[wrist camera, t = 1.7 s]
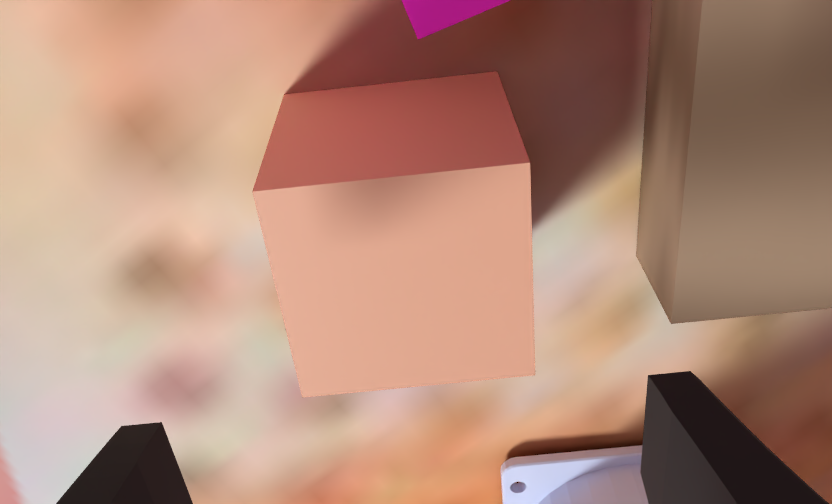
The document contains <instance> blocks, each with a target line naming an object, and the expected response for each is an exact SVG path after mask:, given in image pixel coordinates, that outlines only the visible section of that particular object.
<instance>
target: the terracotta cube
mask: <svg viewBox="0 0 832 504" xmlns="http://www.w3.org/2000/svg"><path fill="white" fill-rule="evenodd" d="M252 192H253V196H254V200H255V204H256V208H257V212H258V217H259V221H260V225H261V229H262V233H263V237H264V241H265V245H266V250H267V254H268V258H269V262H270V266H271V270H272V274H273V278H274V283H275V287H276V291H277V295H278V299H279V303H280V307H281V311H282V316H283V320H284V324H285V328H286V332H287V336H288V340H289V344H290V349H291V353H292V357H293V361H294V365H295V369H296V373H297V377H298V382H299V386H300V390H301V394H302V398H303V397H313V396H323V395H334V394H344V393H355V392H365V391H375V390H386V389H396V388H406V387H417V386H427V385H438V384H448V383H458V382H469V381H479V380H489V379H500V378H510V377H521V376H531V375H535V345H534V303H533V260H532V218H531V175H530V161H529V158H528V155H527V152H526V150H525V147H524V144H523V141H522V139H521V136H520V133H519V130H518V128H517V125H516V122H515V119H514V116H513V114H512V111H511V108H510V105H509V103H508V100H507V97H506V94H505V92H504V89H503V86H502V83H501V81H500V78H499V75H498V72H497V71H495V72H485V73H476V74H467V75H458V76H448V77H439V78H430V79H421V80H411V81H402V82H393V83H384V84H374V85H365V86H356V87H347V88H337V89H328V90H319V91H310V92H300V93H291V94H284V97H283V100H282V103H281V106H280V109H279V112H278V115H277V118H276V121H275V124H274V127H273V130H272V133H271V136H270V139H269V143H268V146H267V149H266V152H265V155H264V158H263V161H262V164H261V167H260V170H259V173H258V176H257V179H256V182H255V185H254V188H253V191H252Z"/></svg>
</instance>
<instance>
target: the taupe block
mask: <svg viewBox="0 0 832 504" xmlns="http://www.w3.org/2000/svg"><path fill="white" fill-rule="evenodd" d="M636 256H637V258H638V260H639V262H640V264H641V266H642V268H643V270H644V272H645V274H646V276H647V278H648V280H649V282H650V284H651V285H652V287H653V289H654V291H655V293H656V295H657V297H658V299H659V301H660V303H661V305H662V307H663V309H664V311H665V313H666V315H667V317H668V319H669V321H670V322H671V324H674V323H685V322H695V321H705V320H715V319H725V318H736V317H746V316H756V315H766V314H776V313H787V312H797V311H807V310H817V309H827V308H832V0H652V12H651V28H650V44H649V60H648V76H647V92H646V108H645V124H644V140H643V156H642V172H641V188H640V204H639V220H638V236H637V252H636Z"/></svg>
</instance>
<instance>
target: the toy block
mask: <svg viewBox="0 0 832 504" xmlns="http://www.w3.org/2000/svg"><path fill="white" fill-rule="evenodd" d="M508 1H510V0H402V3H403V5H404V7H405V10H406V12H407V15H408V17H409V19H410V22H411V24H412V27H413V29H414V31H415V34H416V36H417V38H418V39H421V38H423V37H425V36H428V35H430V34H433V33H435V32H437V31H440V30H442V29H444V28H447V27H449V26H451V25H454V24H456V23H458V22H461V21H463V20H465V19H468V18H470V17H473V16H475V15H477V14H480V13H482V12H484V11H487V10H489V9H491V8H494V7H496V6H498V5H501V4H503V3H505V2H508Z"/></svg>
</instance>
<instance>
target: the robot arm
mask: <svg viewBox="0 0 832 504" xmlns="http://www.w3.org/2000/svg"><path fill="white" fill-rule="evenodd" d="M515 482H520V483H515ZM501 485H502V501H503V504H829V503H828V502H826V501H825V500H824V499H823V498H822V497H821V496H820V495H818V494H817V493H816V492H815V491H814V490H813V489H812V488H811V487H809V486H808V485H807V484H806V483H805V482H804V481H803V480H802V479H801V478H800V477H799V476H797V475H796V474H795V473H794V472H793V471H792V470H791V469H790V468H789V467H788V466H787V465H786V464H784V463H783V462H782V461H781V460H780V459H779V458H778V457H777V456H776V455H775V454H774V453H773V452H772V451H771V450H769V449H768V448H767V447H766V446H765V445H764V444H763V443H762V442H761V441H760V440H759V439H758V438H757V437H756V436H755V435H754V434H753V433H752V432H751V431H750V430H749V429H748V428H747V427H746V426H745V425H744V424H743V423H742V422H741V421H740V420H739V419H738V418H737V417H736V416H735V415H734V414H733V413H732V412H731V411H730V410H729V409H728V408H727V407H726V406H725V405H724V404H723V403H722V402H721V401H720V400H719V399H718V398H717V397H716V396H715V395H714V394H713V393H712V392H711V391H710V390H709V389H708V388H707V387H706V386H705V385H704V384H703V383H702V382H701V380H700V379H699V378H698V377H697V376H695V375H694V374H693V373H692V372H691V371H688V372H677V373H667V374H657V375H648V383H647V396H646V408H645V420H644V433H643V445H639V446H628V447H617V448H607V449H596V450H585V451H575V452H564V453H553V454H543V455H532V456H521V457H514V458H510V459H508V460H506V461H505V462H504V463H503V464H502V465H501ZM56 504H193V503H192V500H191V498H190V495H189V492H188V490H187V487H186V485H185V482H184V479H183V477H182V474H181V471H180V469H179V466H178V464H177V461H176V458H175V456H174V453H173V451H172V448H171V445H170V443H169V440H168V438H167V435H166V432H165V430H164V427H163V425H162V422H160V423H150V424H139V425H129V426H121V427H120V429H119V430H118V431H117V432H116V433H115V434H114V435H113V437H112V438H111V439H110V440H109V441H108V442H107V444H106V445H105V446H104V447H103V448H102V450H101V451H100V452H99V453H98V454H97V455H96V457H95V458H94V459H93V460H92V461H91V463H90V464H89V465H88V466H87V467H86V469H85V470H84V471H83V472H82V473H81V475H80V476H79V477H78V478H77V479H76V481H75V482H74V483H73V484H72V485H71V487H70V488H69V489H68V490H67V491H66V492H65V494H64V495H63V496H62V497H61V498H60V500H59V501H58V502H57V503H56Z"/></svg>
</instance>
